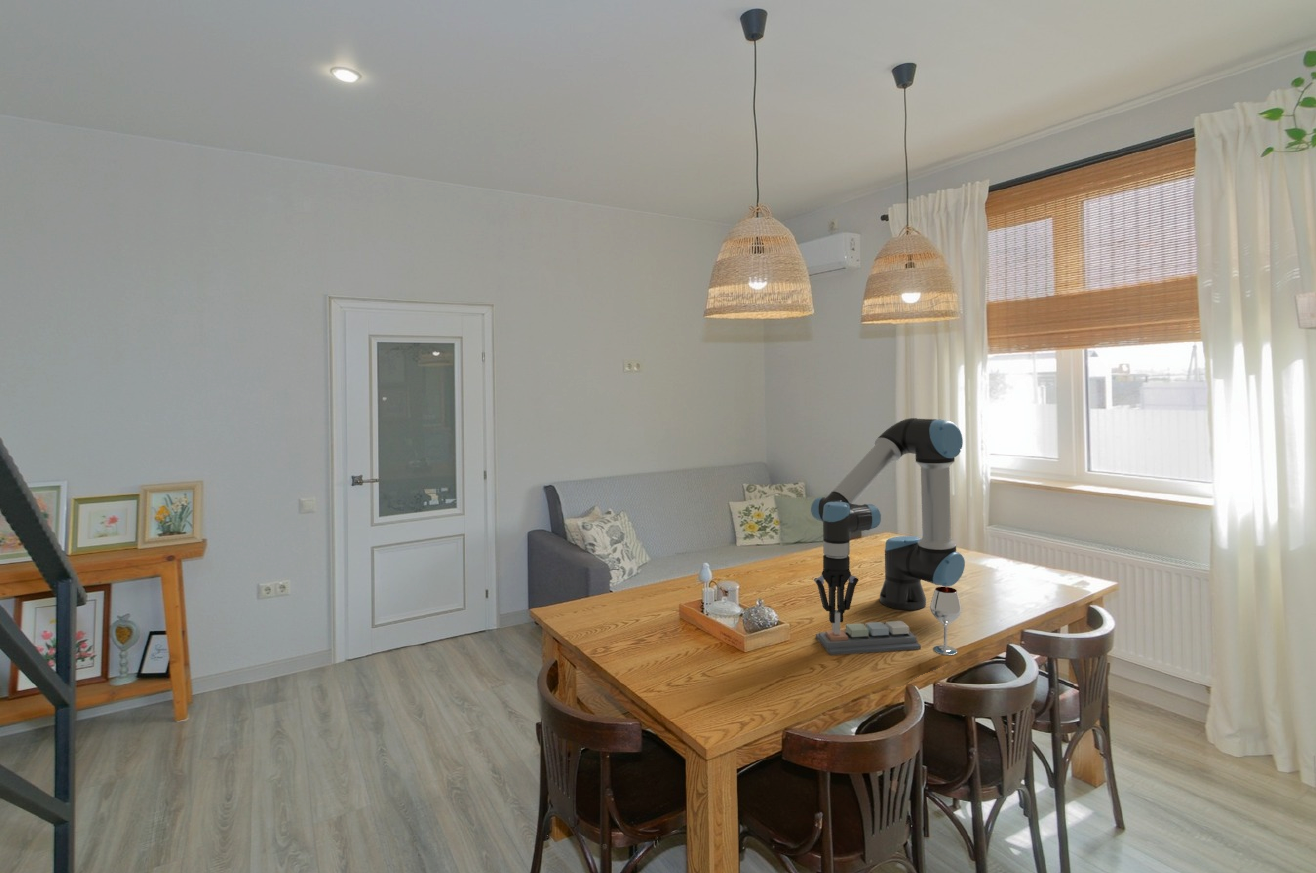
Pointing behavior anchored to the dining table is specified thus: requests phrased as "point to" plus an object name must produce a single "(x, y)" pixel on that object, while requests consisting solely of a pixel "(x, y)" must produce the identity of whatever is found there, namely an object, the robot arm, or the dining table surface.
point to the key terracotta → (836, 636)
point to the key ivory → (897, 627)
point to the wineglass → (945, 613)
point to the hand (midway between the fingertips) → (836, 632)
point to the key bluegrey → (877, 628)
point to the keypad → (869, 643)
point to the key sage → (856, 630)
